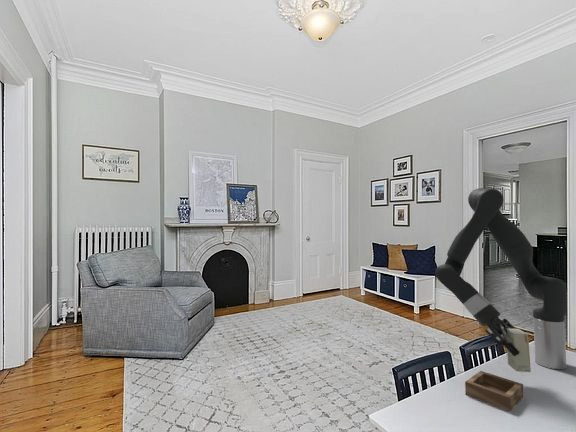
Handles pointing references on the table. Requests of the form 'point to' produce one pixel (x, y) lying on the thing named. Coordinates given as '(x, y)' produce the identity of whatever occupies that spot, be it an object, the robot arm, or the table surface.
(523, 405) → the table surface
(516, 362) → the skincare box
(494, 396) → the block
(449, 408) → the table surface
